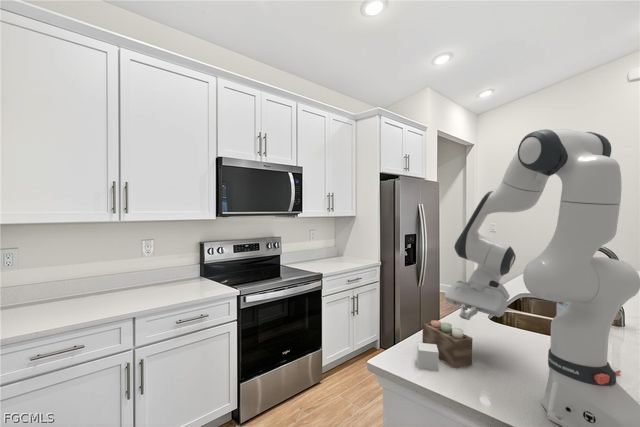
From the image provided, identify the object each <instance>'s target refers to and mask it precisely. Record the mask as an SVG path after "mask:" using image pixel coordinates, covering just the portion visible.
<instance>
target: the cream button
mask: <svg viewBox="0 0 640 427" xmlns="http://www.w3.org/2000/svg"><path fill="white" fill-rule="evenodd" d="M463 334H464V329H462V328H460V327H452V337H453V338H456V339H463Z"/></svg>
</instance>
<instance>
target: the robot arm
mask: <svg viewBox="0 0 640 427" xmlns="http://www.w3.org/2000/svg"><path fill="white" fill-rule="evenodd" d="M611 155H612V145H611V142H610V140H609V139H608V138H607V137H605V136H604V135H603V134H600V133H596V132H592V131H582V130H581V131H580V130H572V129H563V128H561V129H539V130H535V131H532V132H530V133H528V134H526V135H525V136H524V137H523V138H522V139H521V141H520V143H519V145H518V148H517V152H516V153H515V154H514V156H513V157H512V158H511V160H510V162H509V164H508V166H507V167H506V170H505V172H504V175H503V177H502V180H501V183H500V184H499V185H498V187H497V188H496V189H495V190H491V191H488V192H487V193H486V194H485V195H483V197H482V198H481V200H480V202H479V203H478V205H477V206H476V208H475V210H474V211H473V212H472V215H471V217H470V218H469V220H468V221H467V224H466V225H465V227H464V229H463V231H462V232H461V233H460V234H459V235H458V237H457V238H456V240H455V243H454V251H455V252H456V254H457V256H458V257H459V258H462V259H465V260H467V261H471V262H473V263H475V264H477V267H476V269H475V270H473V272H472V274H471V275H470V277H469V278H468V280H467V281H462V280H458V281H454V282H453V284H451V285H450V287H448V290H446V292H445V294H444V298H445V300H446V301H447V303H450V304H453V305H456V306H459V307H460V313H459V317H460V319H464V320H467V321H470V320H471V318H472V317H474V316H476V315H477V314H478V313H479V312H480V313H484V314H487V315H490V316H494V317H497V318H500V317H502V316H504V314H505V312H506V310H507V307H508V303H509V302H508V300H509V299H510V297H511V296H510V293H509V292H508V290H507V288H506V287H505V286H504V285H503V284H502V283H501V282H500V280H502V278H503V277H504V276H506V275H507V274H509V273H510V270H511V268H513V267H512V266H513V265H514V264H515V260H516V257H517V256H516V253H515V251H514V249H513V247H512V246H510V245H508V244H506V243H503V242H501V241H499V240H495V239H492V238H490V237H487V236H484V235H482V234H481V233H480V232H479V230H480V229H481V227H482V225H483V223H484V222H485V221H486V218H487V217H488V216H489V215H491V214H494V213H495V214H496V213H510V214H511V213H512V214H513V213H519V212H521V213H522V212H525V211H528V210H530V209H531V208H534V206H536V204H537V203H538V201H539V199H540V198H541V196H542V195H543V193H544V190H545V187H546V184H547V182H548V181H549V180H548V179H549V178H550V177H551V176H553V175H554V174H555V175H557V177H559V179H560V180H561V185H562V186H561V187H562V188H561V193H560V194H561V195H560V202H559V209H558V217H557V222H556V227H555V230H554V233H553V236H552V238H551V240H550V242H549V243H548V245H547V246H546V247H545V249H544V250H543V251H542V252H541V253H540V254H539V255H538V256H537V257H535V258H533V259H532V260H531V261H529V262H528V263H527V264H526V266H525V268H524V269H523V270H524V271H523V274H522V275H523V276H522V278H523V283H524V286H525V288H526V289H527V291H528V293H529V294H531V296H533V297H535V298H537V299H540V300H546V301H550V302H554V303H555V302H556V303H557V302H569V304H568V306H567V307H566V309H565V310H564V311H563V312H561V313H560V314H558V315H557V316H556V315H555V317H553V318H552V321H551V323H550V347H549V349H548V355H547V365H548V376H547V377H548V378H547V382H546V387H545V391H544V394H543V397H542V398H541V405H542V406H543V407H544V410H546V412H547V414H546V416H547V419H548V420H550V421H551V422H553V423H555V424H557V425H559V426H561V427H640V403H638V402H637V401H636V400H635V399H634V398H633V396H631V395H630V394H629V393H628V392H627V391H626V390H625V389H624V388H623V387H622V386H621V385H620V384H619V383H618V382H617V378H618V377H620V376H621V372H622V371H621V370H613V368H612V367H611V365H610V363H609V361H608V357H609V356H608V354H609V353H608V351H609V338H610V332H611V327H612V325H613V324H614V323H613V322H614V320H615V318H616V317H617V315H618V313H619V311H620V310H621V309H622V307H623V306H624V305H625V304H626V303H627V302H628V301H629V300H630V299H632V298H633V297H635V296H637V294H638V293H639V291H640V275H639V273H638V271H637V270H636V268H635V267H634V266H633V265H631V264H630V263H628V262H626V261H624V260H619V259H616V258H615V259H614V258H610V257H605V256H595V254H596V253H597V252H598V250H599V249H600V248H602V247H603V246H604V245H606V244H607V243H610V242H611V241H612V240H614V238H615V236H616V234H617V229H618V223H619V217H620V215H619V214H620V210H621V201H622V200H621V199H622V173H621V166H620V164H619V162H618V161H617V160H615V159H614V158H612V157H611ZM468 309H470V310H469V311H468ZM466 311H468V312H466Z"/></svg>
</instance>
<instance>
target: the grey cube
mask: <svg viewBox="0 0 640 427" xmlns="http://www.w3.org/2000/svg"><path fill="white" fill-rule="evenodd" d="M416 355H417V360H416V361H417V367H418V368H419V370H426V371H434V370H435V372H439V360H440V359H439V352H438V348H437V345H436V344H427V343H423V342H417V354H416Z"/></svg>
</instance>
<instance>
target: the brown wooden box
mask: <svg viewBox="0 0 640 427" xmlns="http://www.w3.org/2000/svg"><path fill="white" fill-rule="evenodd" d="M422 343H427V344H436V345H437V348H438V352H439V359H438V360H441V361H442V362H444V363H446V364H447V365H449V366H450V367H452V368H454V369H455V370H456V369H460V368H465V367H470V366H473V338H472V336H469V335H467V334H464V333H463V339H456V338H453V337H452V332H451V333H444V332H442V331H441V327H439V328H434V327H432V326H431V322H428V323H427V322H426V323H422Z"/></svg>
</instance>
